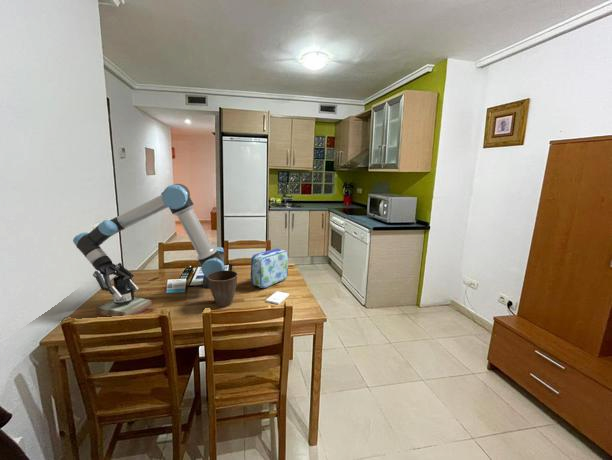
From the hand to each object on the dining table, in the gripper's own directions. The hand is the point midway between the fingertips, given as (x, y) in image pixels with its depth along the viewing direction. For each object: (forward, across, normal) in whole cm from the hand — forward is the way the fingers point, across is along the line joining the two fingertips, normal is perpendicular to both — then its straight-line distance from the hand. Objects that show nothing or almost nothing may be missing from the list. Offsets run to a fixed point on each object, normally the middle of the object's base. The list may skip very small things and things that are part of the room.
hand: (128, 294), depth 140 cm
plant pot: (+35, -21, +22) cm, 46 cm away
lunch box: (+43, -55, +30) cm, 76 cm away
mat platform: (+4, 0, -9) cm, 9 cm away
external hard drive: (+52, -36, +39) cm, 74 cm away
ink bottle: (+1, 0, -5) cm, 5 cm away
